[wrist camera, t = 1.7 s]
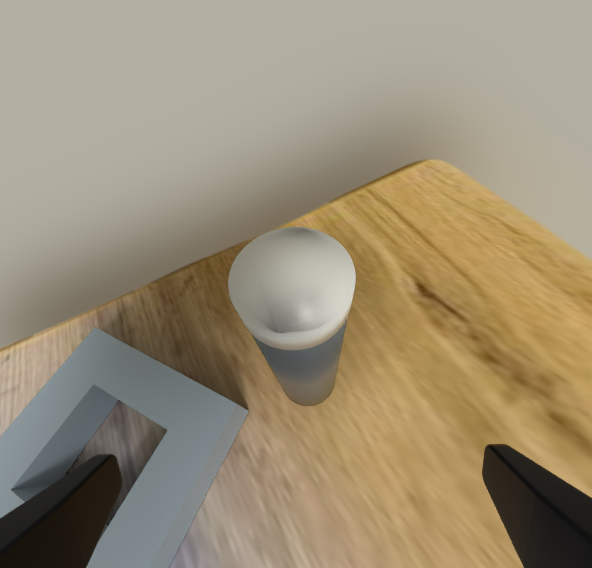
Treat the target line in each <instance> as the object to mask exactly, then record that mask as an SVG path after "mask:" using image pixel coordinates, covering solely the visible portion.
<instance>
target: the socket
mask: <svg viewBox="0 0 592 568" xmlns="http://www.w3.org/2000/svg"><path fill="white" fill-rule="evenodd" d="M119 400H120V401H121V402H123V403H125V404H126V405H128V406H129V407H131V408H133V409H134V410H136V411H137V412H139V413H141V414H142V415H144V416H145V417H147V418H149V419H150V420H152V421H154V422H155V423H157V424H158V425H160V426H162V427H163V428H165V429H166V430H167V432H166V434H165V435H164V437H163V439H162V440H161V442H160V443H159V445H158V447H157V448H156V450H155V451H154V453H153V455H152V456H151V458H150V459H149V461H148V463H147V464H146V466H145V468H144V469H143V471H142V472H141V474H140V476H139V477H138V479H137V480H136V482H135V484H134V485H133V487H132V489H131V490H130V492H129V493H128V495H127V497H126V498H125V500H124V501H123V503H122V505H121V506H120V508H119V509H118V511H117V513H116V514H115V516H114V518H113V519H112V521H111V522H110V524H109V525H107V524H106V525H105V528H104V530H103V532H102V534H101V537H100V539H99V541H98V543H97V546H96V548H95V550H94V552H93V555H92V557H91V559H90V561H89V563H88V565H87V567H86V568H169V566H170V564H171V562H172V560H173V558H174V556H175V555H176V553H177V551H178V549H179V547H180V545H181V543H182V541H183V539H184V537H185V535H186V533H187V531H188V529H189V527H190V525H191V523H192V521H193V519H194V517H195V516H196V514H197V512H198V510H199V508H200V506H201V504H202V502H203V500H204V498H205V496H206V494H207V492H208V490H209V488H210V486H211V484H212V482H213V480H214V478H215V477H216V475H217V473H218V471H219V469H220V467H221V465H222V463H223V461H224V459H225V457H226V455H227V453H228V451H229V449H230V447H231V445H232V443H233V441H234V440H235V438H236V436H237V434H238V432H239V430H240V428H241V426H242V424H243V422H244V420H245V418H246V416H247V414H248V412H249V411H248V410H246V409H244V408H243V407H241V406H240V405H238V404H236V403H235V402H233V401H231V400H229V399H227V398H225V397H223V396H222V395H220V394H218V393H216V392H214V391H212V390H210V389H209V388H207V387H205V386H203V385H201V384H199V383H198V382H196V381H194V380H192V379H190V378H188V377H186V376H185V375H183V374H181V373H179V372H177V371H175V370H173V369H172V368H170V367H168V366H166V365H164V364H162V363H161V362H159V361H157V360H155V359H153V358H151V357H149V356H148V355H146V354H144V353H142V352H140V351H138V350H136V349H135V348H133V347H131V346H129V345H127V344H125V343H123V342H122V341H120V340H118V339H116V338H114V337H112V336H111V335H109V334H107V333H105V332H103V331H101V330H99V329H98V328H96V327H95V328H94V329H93V330H92V331H91V332H90V333H89V335H88V336H87V337H86V338H85V339H84V340H83V342H82V343H81V344H80V345H79V346H78V347H77V349H76V350H75V351H74V352H73V353H72V354H71V355H70V357H69V358H68V359H67V360H66V361H65V362H64V364H63V365H62V366H61V367H60V368H59V369H58V371H57V372H56V373H55V374H54V375H53V376H52V378H51V379H50V380H49V381H48V382H47V383H46V385H45V386H44V387H43V388H42V389H41V390H40V391H39V393H38V394H37V395H36V396H35V397H34V398H33V400H32V401H31V402H30V403H29V404H28V405H27V407H26V408H25V409H24V410H23V411H22V412H21V414H20V415H19V416H18V417H17V418H16V419H15V420H14V422H13V423H12V424H11V425H10V426H9V427H8V429H7V430H6V431H5V432H4V433H3V434H2V436H1V437H0V518H1V517H3V516H4V515H6V514H7V513H9V512H11V511H12V510H14V509H15V508H17V507H18V506H20V505H21V504H23V503H24V502H26V501H27V500H29V499H30V498H32V497H33V496H35V495H36V494H38V493H39V492H41V491H42V490H44V489H46V488H47V487H49V486H50V485H52V484H53V483H55V482H56V481H58V480H59V479H61V478H62V477H64V475H65V474H66V472H67V471H68V470H69V468H70V467H71V466H72V464H73V463H74V461H75V460H76V459H77V457H78V456H79V455H80V453H81V452H82V450H83V449H84V448H85V446H86V445H87V443H88V442H89V441H90V439H91V438H92V437H93V435H94V434H95V432H96V431H97V430H98V428H99V427H100V426H101V424H102V423H103V421H104V420H105V419H106V417H107V416H108V415H109V413H110V412H111V410H112V409H113V408H114V406H115V405H116V403H117V402H118V401H119Z"/></svg>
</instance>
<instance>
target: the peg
mask: <svg viewBox="0 0 592 568" xmlns="http://www.w3.org/2000/svg"><path fill="white" fill-rule="evenodd" d="M355 283H356V274H355V268H354V264H353V261H352V259H351V257H350V255H349V254H348V252H347V251H346V249H345V248H344V247H343V246H342V245H341V244H340V243H339V242H338V241H337V240H335V239H334V238H332V237H331V236H329V235H327V234H325V233H323V232H321V231H318V230H315V229H311V228H304V227H286V228H280V229H276V230H272V231H270V232H267V233H265V234H263V235H260V236H259V237H257V238H255V239H254V240H252V241H251V242H250V243H249V244H247V245H246V246H245V247H244V248H243V249H242V250H241V252H240V253H239V254H238V255H237V257H236V259H235V260H234V262H233V264H232V267H231V269H230V273H229V278H228V290H229V296H230V299H231V302H232V304H233V306H234V308H235V309H236V311H237V313H238V315H239V316H240V318H241V320H242V321H243V323H244V325H245V327H246V328H247V329H248V331H249V332H250V333H251V334H252V336H253V337H254V339H255V341H256V343H257V344H258V346H259V348H260V350H261V351H262V353H263V355H264V357H265V359H266V360H267V362H268V364H269V366H270V367H271V369H272V371H273V373H274V374H275V376H276V378H277V380H278V381H279V383H280V385H281V387H282V389H283V390H284V392H285V394H286V395H287V396H288V397H289V398H290V399H291V400H292V401H293V402H295V403H297V404H299V405H303V406H314V405H317V404H319V403H321V402H323V401H324V400H326V399H327V398H328V397H329V395H330V394H331V392H332V390H333V388H334V385H335V380H336V374H337V369H338V364H339V358H340V353H341V348H342V342H343V337H344V332H345V327H346V321H347V317H348V315H349V312H350V309H351V304H352V299H353V294H354V289H355Z"/></svg>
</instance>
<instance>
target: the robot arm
mask: <svg viewBox="0 0 592 568" xmlns="http://www.w3.org/2000/svg"><path fill="white" fill-rule="evenodd" d="M482 476H483V480H484V483H485V485H486V488H487V490H488V492H489V494H490V496H491V498H492V500H493V503H494V505H495V507H496V509H497V511H498V513H499V516H500V518H501V520H502V522H503V524H504V526H505V528H506V531H507V533H508V535H509V537H510V539H511V541H512V544H513V546H514V548H515V550H516V552H517V554H518V556H519V558H520V560H521V562H522V564H523V566H524V568H592V498H591V497H589V496H588V495H586V494H584V493H583V492H581V491H580V490H578V489H577V488H575V487H573V486H572V485H570V484H569V483H567V482H565V481H564V480H562V479H561V478H559V477H557V476H556V475H554V474H553V473H551V472H550V471H548V470H546V469H545V468H543V467H542V466H540V465H538V464H537V463H535V462H534V461H532V460H530V459H529V458H527V457H526V456H524V455H523V454H521V453H519V452H518V451H516V450H515V449H513V448H511V447H510V446H508V445H506V444H489V445H487V446H486V447H485V451H484V460H483V469H482ZM121 488H122V476H121V472H120V469H119V465H118V462H117V458H116V457H115V456H114V455H112V454H103V455H96V456H94V457H93V458H91V459H90V460H88V461H87V462H85V463H84V464H82V465H80V466H79V467H77V468H76V469H74V470H73V471H71V472H70V473H68V474H67V475H65V476H64V477H62V478H61V479H59V480H58V481H56V482H55V483H53V484H52V485H50V486H49V487H47V488H46V489H44V490H42V491H41V492H39V493H38V494H36V495H35V496H33V497H32V498H30V499H29V500H27V501H26V502H24V503H23V504H21V505H20V506H18V507H17V508H15V509H14V510H12V511H11V512H9V513H7V514H6V515H4V516H3V517H1V518H0V568H86V567H87V565H88V563H89V561H90V559H91V557H92V555H93V552H94V550H95V548H96V546H97V543H98V541H99V539H100V537H101V534H102V532H103V530H104V528H105V525H106V523H107V521H108V519H109V516H110V514H111V512H112V510H113V507H114V505H115V503H116V501H117V498H118V496H119V494H120V491H121Z"/></svg>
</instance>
